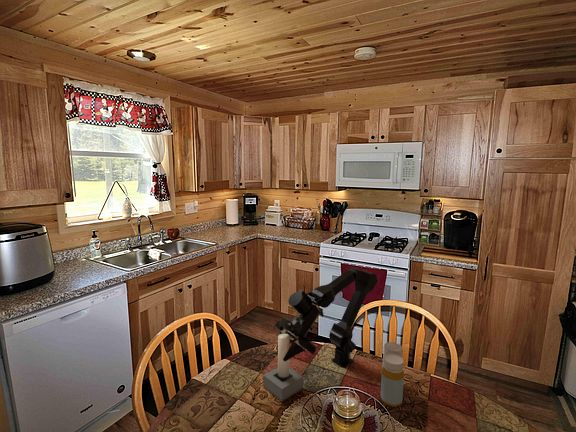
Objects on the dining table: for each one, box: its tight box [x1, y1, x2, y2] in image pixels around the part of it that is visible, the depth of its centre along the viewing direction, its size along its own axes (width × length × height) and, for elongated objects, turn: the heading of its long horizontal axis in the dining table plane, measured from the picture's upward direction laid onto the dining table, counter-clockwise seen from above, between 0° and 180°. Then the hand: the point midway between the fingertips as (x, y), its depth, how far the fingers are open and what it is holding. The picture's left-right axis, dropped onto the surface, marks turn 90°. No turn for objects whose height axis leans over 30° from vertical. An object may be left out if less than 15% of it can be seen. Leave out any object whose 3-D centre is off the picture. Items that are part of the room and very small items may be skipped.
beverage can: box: [381, 341, 404, 370], centre depth 114 cm, size 6×7×15 cm
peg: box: [277, 333, 291, 378], centre depth 111 cm, size 4×4×14 cm
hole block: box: [262, 366, 304, 402], centre depth 112 cm, size 10×10×5 cm
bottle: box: [380, 354, 405, 408], centre depth 106 cm, size 7×7×15 cm
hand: (280, 357), depth 111 cm, fingers closed on peg, 4 cm apart
